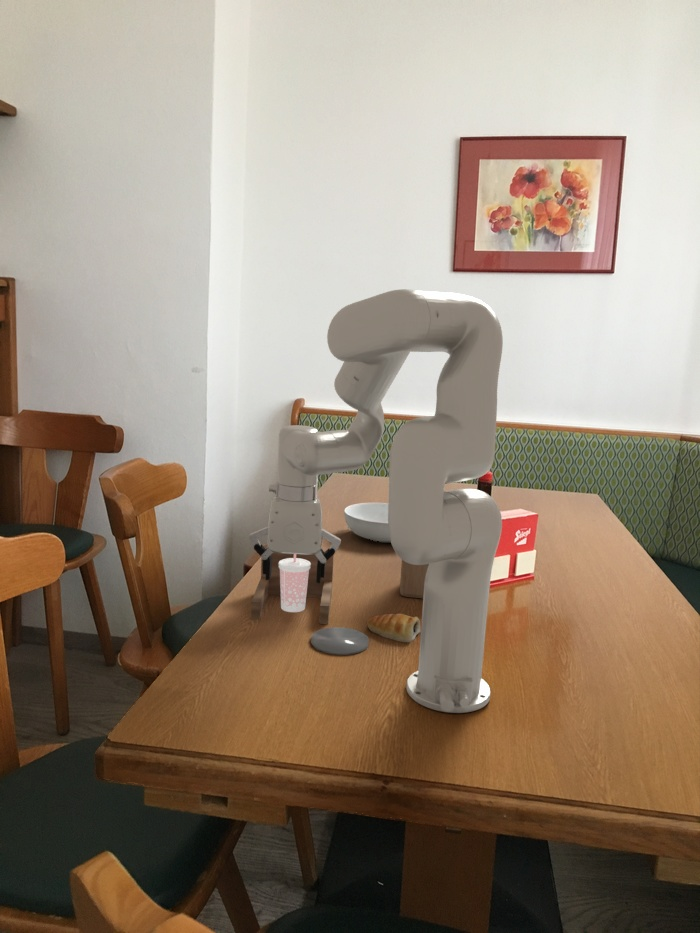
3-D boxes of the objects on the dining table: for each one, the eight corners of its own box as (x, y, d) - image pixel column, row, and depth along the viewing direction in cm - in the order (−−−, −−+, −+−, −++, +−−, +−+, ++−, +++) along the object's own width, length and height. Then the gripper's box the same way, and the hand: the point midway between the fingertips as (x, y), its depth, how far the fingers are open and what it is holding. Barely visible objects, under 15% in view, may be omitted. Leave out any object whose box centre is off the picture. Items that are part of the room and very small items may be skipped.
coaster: (368, 656, 125) (368, 653, 125) (308, 653, 125) (308, 649, 125) (368, 631, 135) (368, 628, 135) (312, 628, 135) (313, 625, 135)
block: (448, 603, 150) (455, 506, 146) (398, 597, 152) (404, 501, 148) (451, 586, 160) (458, 495, 156) (405, 581, 162) (411, 490, 158)
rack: (328, 624, 137) (330, 577, 135) (250, 619, 137) (251, 573, 136) (331, 595, 152) (333, 552, 150) (261, 591, 152) (262, 548, 150)
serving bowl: (427, 552, 183) (429, 525, 182) (341, 547, 183) (342, 520, 182) (421, 528, 204) (422, 504, 202) (344, 524, 204) (345, 500, 202)
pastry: (361, 635, 134) (362, 614, 133) (374, 622, 140) (375, 602, 139) (411, 645, 130) (413, 625, 130) (422, 631, 137) (424, 612, 136)
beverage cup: (315, 608, 144) (318, 538, 142) (292, 616, 140) (295, 544, 137) (293, 599, 148) (295, 531, 146) (270, 607, 144) (272, 536, 141)
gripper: (247, 494, 136) (245, 583, 140) (342, 499, 136) (338, 589, 139) (253, 485, 144) (251, 570, 147) (344, 490, 143) (339, 575, 147)
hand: (293, 579), depth 143 cm, fingers open, 9 cm apart
